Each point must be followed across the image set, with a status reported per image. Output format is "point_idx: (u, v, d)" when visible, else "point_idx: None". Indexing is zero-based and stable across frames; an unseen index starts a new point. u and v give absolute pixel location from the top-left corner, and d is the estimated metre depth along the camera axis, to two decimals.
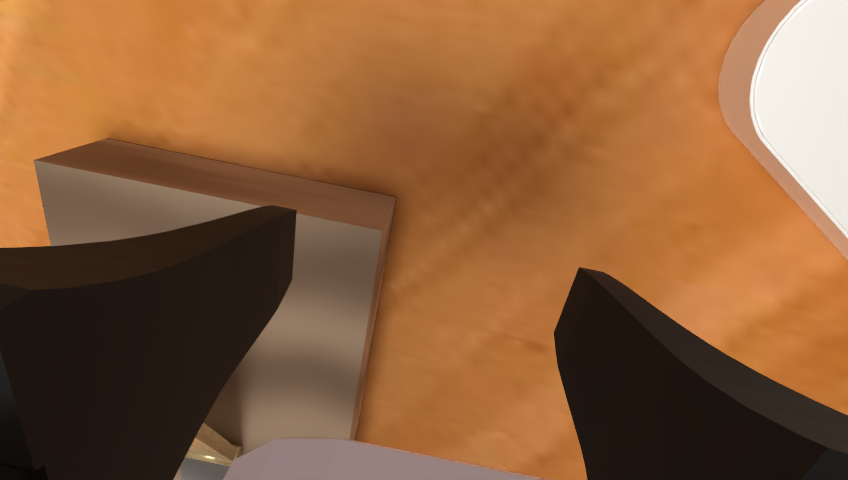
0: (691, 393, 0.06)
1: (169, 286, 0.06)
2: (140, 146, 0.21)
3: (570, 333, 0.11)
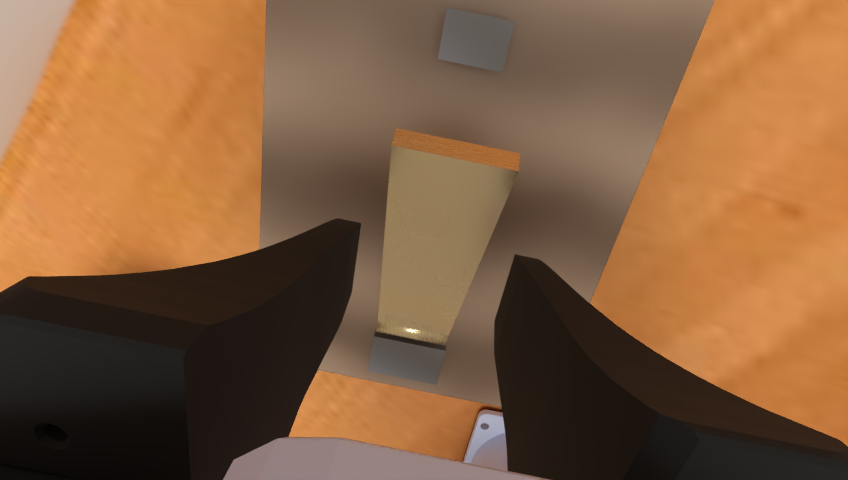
0: (578, 370, 0.06)
1: (282, 309, 0.06)
2: None
3: (504, 320, 0.11)
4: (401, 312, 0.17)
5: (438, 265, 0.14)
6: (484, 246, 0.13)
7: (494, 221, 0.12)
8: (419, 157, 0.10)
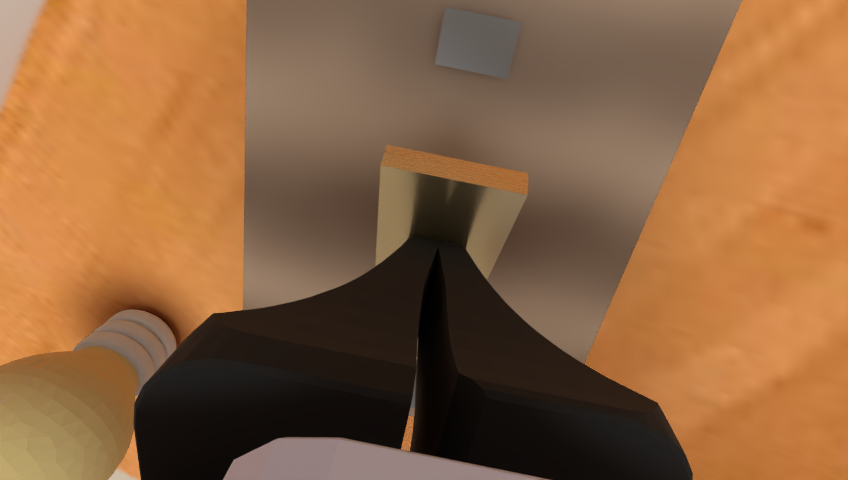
0: (444, 343, 0.06)
1: None
2: None
3: (425, 304, 0.11)
4: None
5: None
6: (487, 273, 0.12)
7: (498, 248, 0.11)
8: (413, 178, 0.09)
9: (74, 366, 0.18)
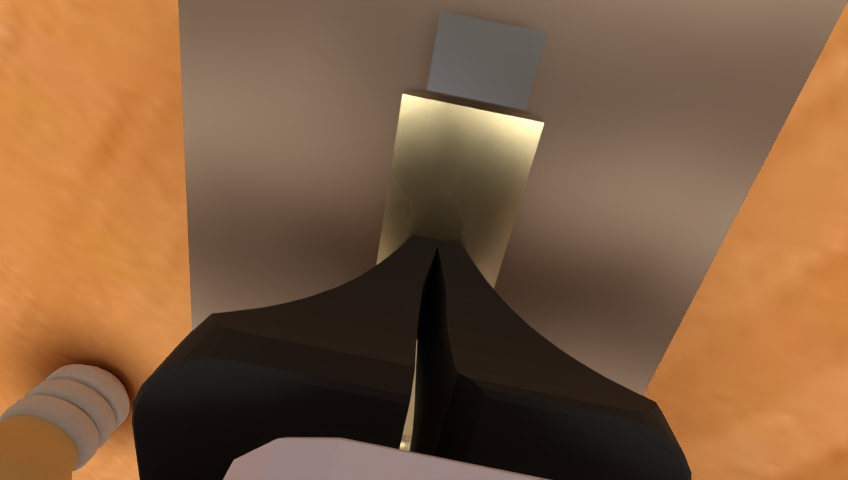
0: (442, 343, 0.06)
1: None
2: None
3: (425, 304, 0.11)
4: None
5: None
6: (501, 254, 0.11)
7: (514, 208, 0.10)
8: (432, 110, 0.09)
9: None
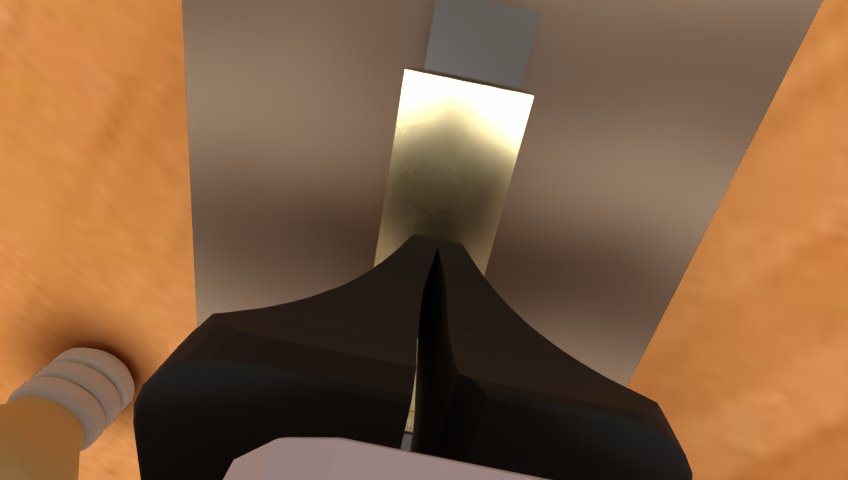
0: (443, 343, 0.06)
1: None
2: None
3: (425, 304, 0.11)
4: None
5: None
6: (496, 223, 0.11)
7: (508, 178, 0.11)
8: (432, 85, 0.10)
9: None
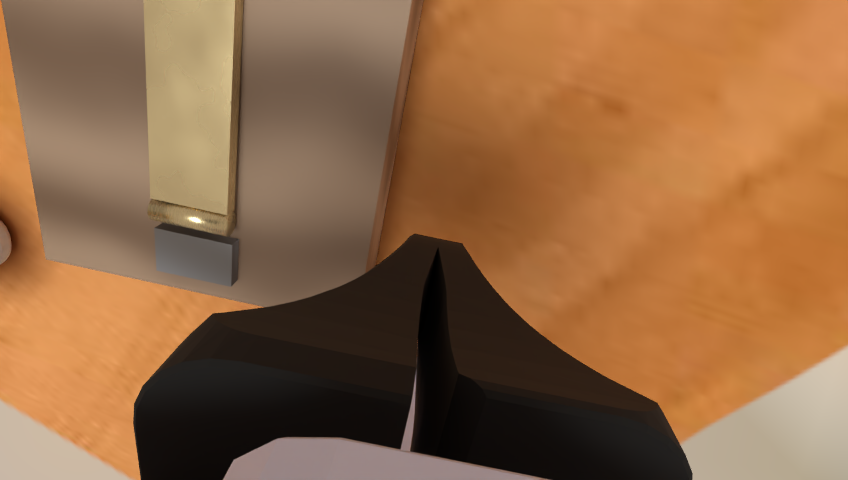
0: (443, 342, 0.06)
1: None
2: None
3: (425, 304, 0.11)
4: (173, 170, 0.17)
5: (197, 63, 0.15)
6: (232, 22, 0.15)
7: None
8: None
9: None
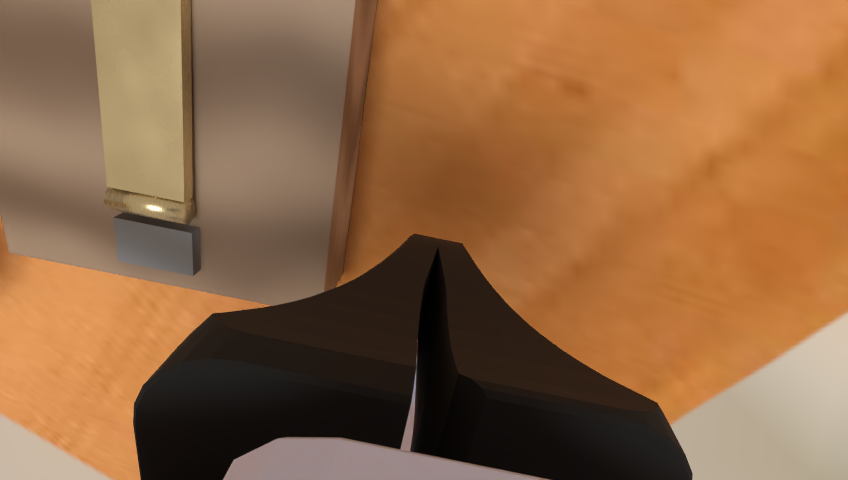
0: (443, 343, 0.06)
1: None
2: None
3: (425, 304, 0.11)
4: (127, 157, 0.17)
5: (146, 47, 0.15)
6: (178, 5, 0.15)
7: None
8: None
9: None
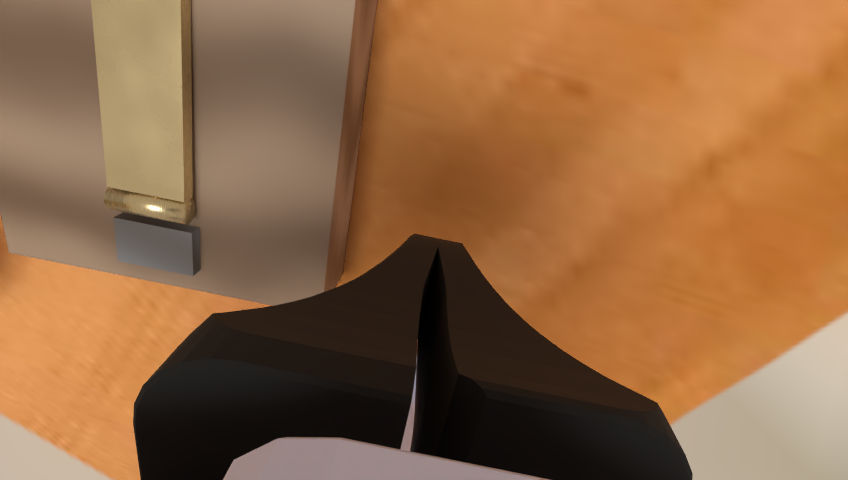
0: (443, 343, 0.06)
1: None
2: None
3: (425, 304, 0.11)
4: (127, 157, 0.17)
5: (146, 47, 0.15)
6: (178, 5, 0.15)
7: None
8: None
9: None
